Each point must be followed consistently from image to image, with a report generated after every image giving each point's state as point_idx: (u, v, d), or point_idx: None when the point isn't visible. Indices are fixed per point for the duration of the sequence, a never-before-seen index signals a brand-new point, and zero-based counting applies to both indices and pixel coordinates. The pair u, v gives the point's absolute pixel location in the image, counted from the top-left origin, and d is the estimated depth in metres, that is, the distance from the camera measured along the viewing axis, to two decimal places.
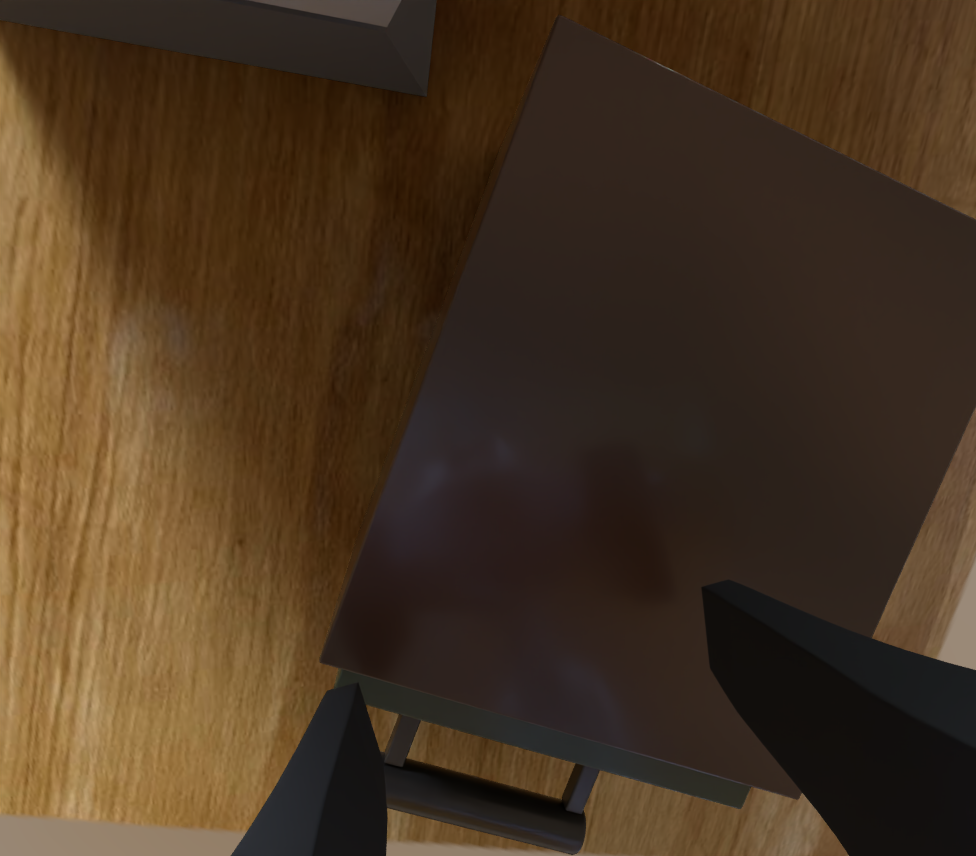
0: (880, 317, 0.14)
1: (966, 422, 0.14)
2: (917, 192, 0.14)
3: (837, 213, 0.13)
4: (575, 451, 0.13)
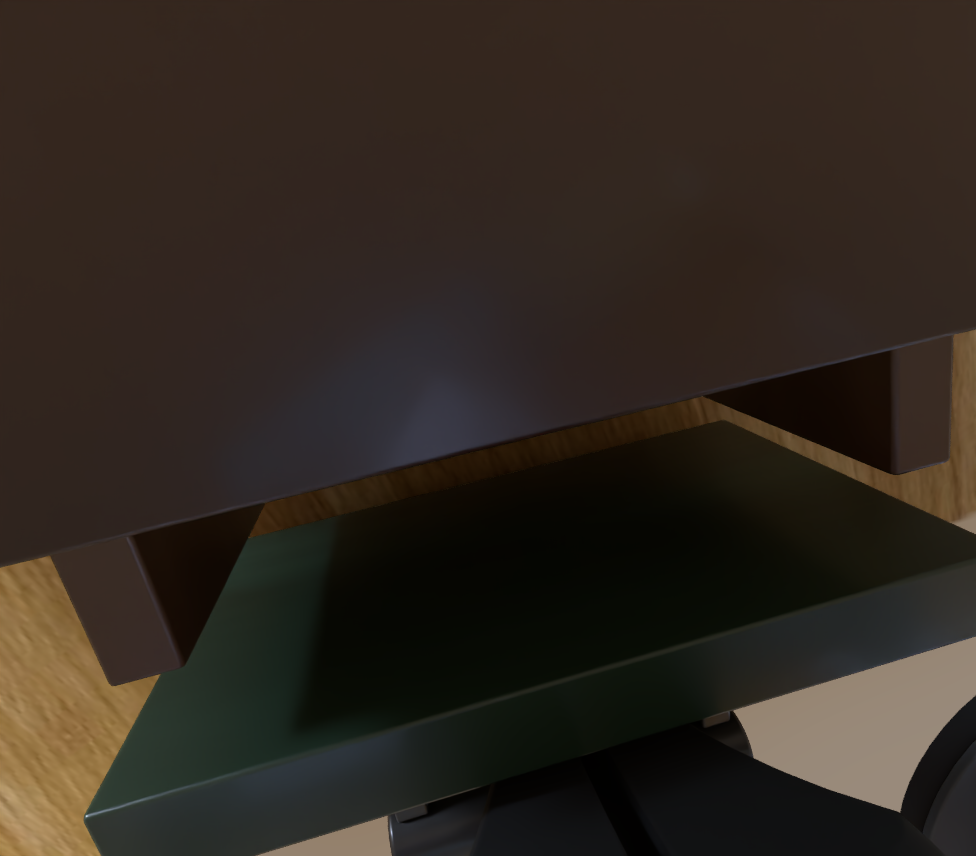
0: None
1: None
2: None
3: None
4: None
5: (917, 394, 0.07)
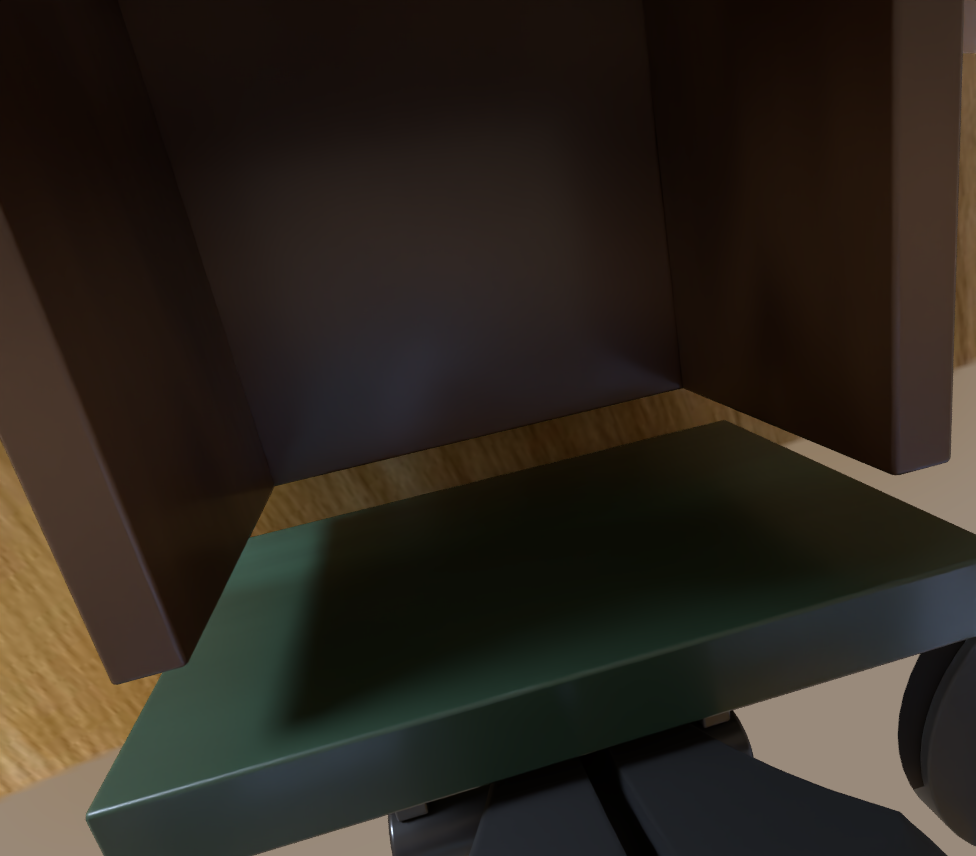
0: None
1: None
2: None
3: None
4: None
5: (917, 394, 0.07)
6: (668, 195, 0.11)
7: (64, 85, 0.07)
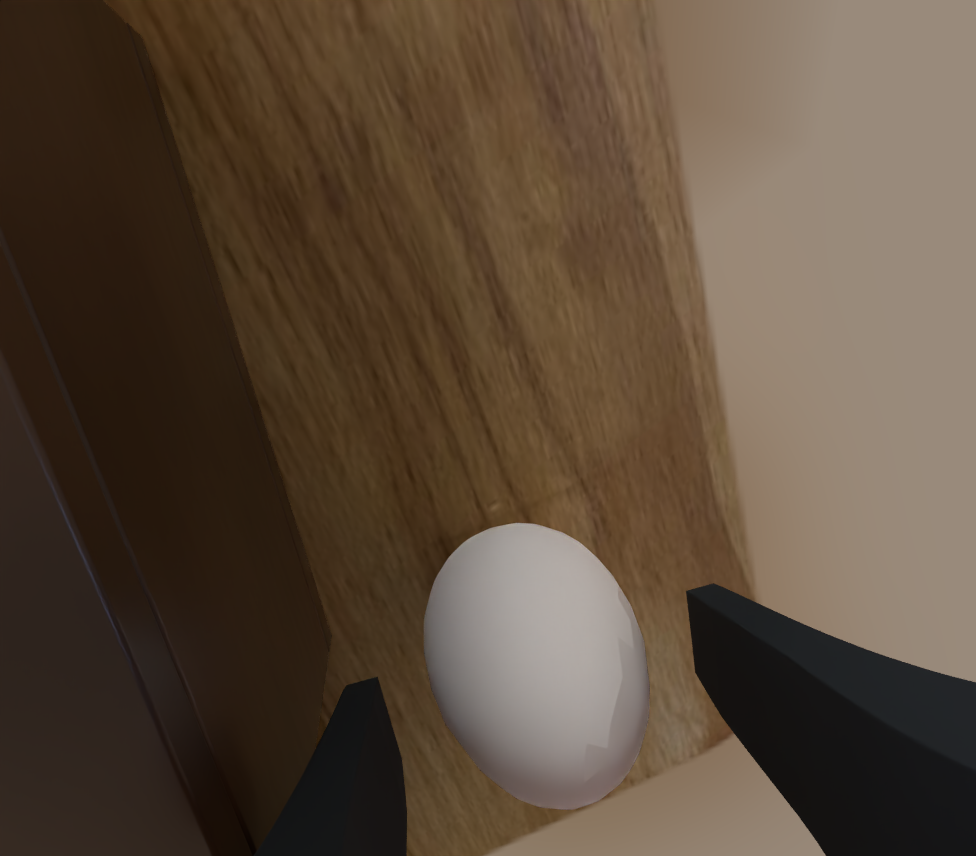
0: None
1: None
2: None
3: None
4: None
5: None
6: None
7: None
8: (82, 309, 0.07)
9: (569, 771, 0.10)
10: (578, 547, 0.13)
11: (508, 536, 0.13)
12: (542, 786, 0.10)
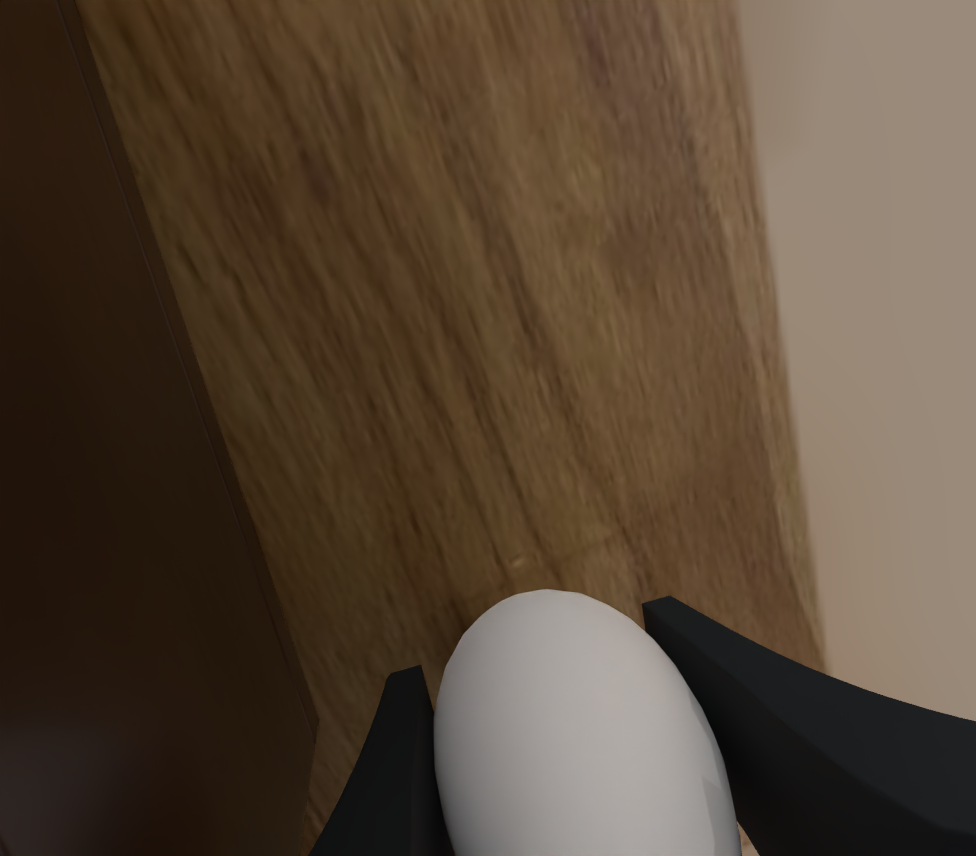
0: None
1: None
2: None
3: None
4: None
5: None
6: None
7: None
8: None
9: None
10: (632, 631, 0.10)
11: (542, 616, 0.10)
12: None
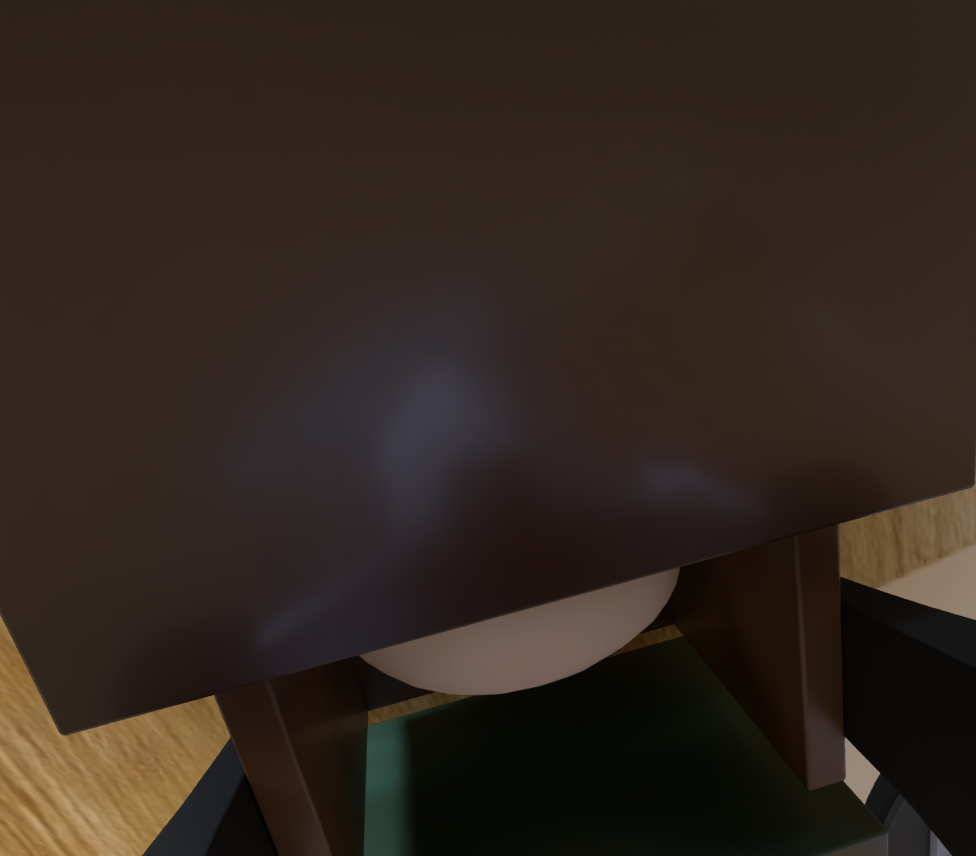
0: None
1: None
2: None
3: None
4: (196, 110, 0.06)
5: (821, 747, 0.11)
6: None
7: None
8: None
9: None
10: None
11: None
12: None
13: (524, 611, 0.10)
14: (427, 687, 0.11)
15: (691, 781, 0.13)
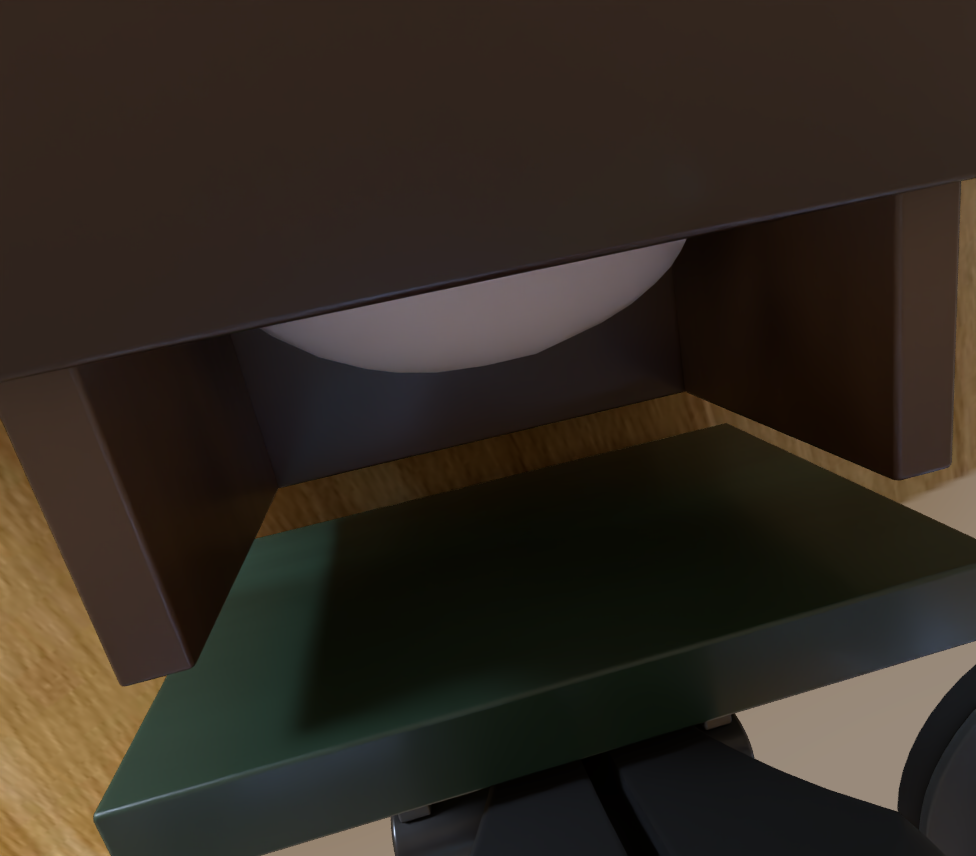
0: None
1: None
2: None
3: None
4: None
5: (919, 400, 0.07)
6: None
7: None
8: None
9: None
10: None
11: None
12: None
13: None
14: (323, 322, 0.07)
15: (711, 536, 0.10)
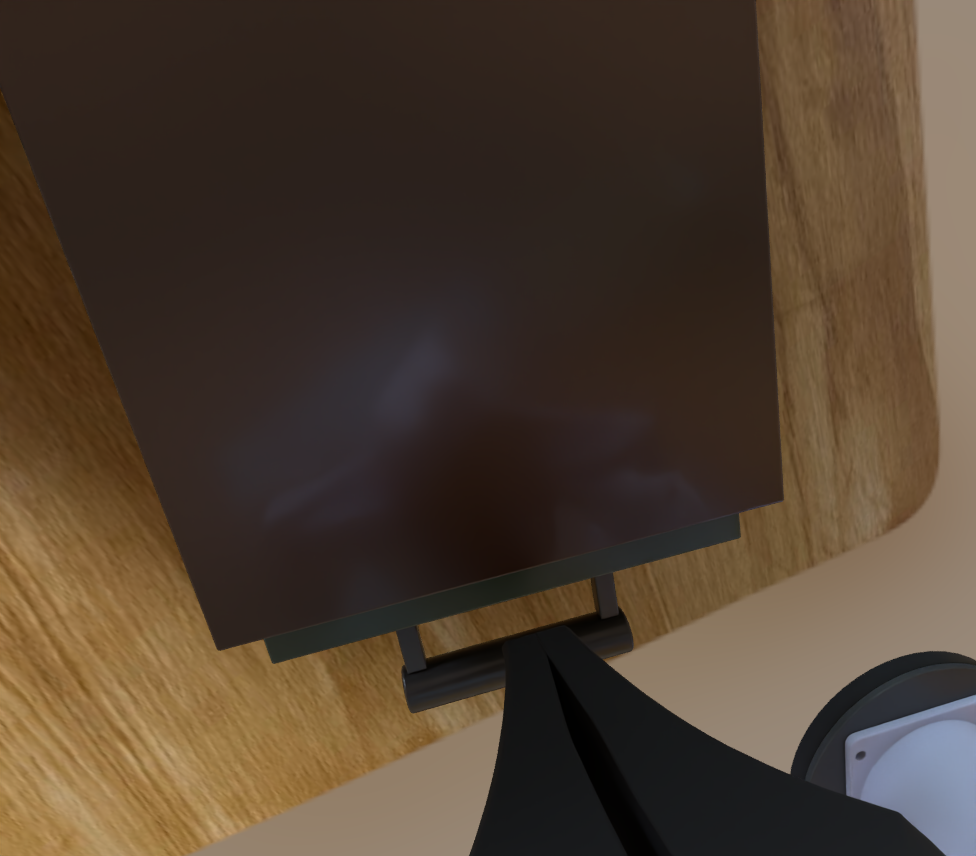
0: None
1: None
2: None
3: None
4: (312, 300, 0.11)
5: None
6: None
7: None
8: None
9: None
10: None
11: None
12: None
13: None
14: None
15: None
